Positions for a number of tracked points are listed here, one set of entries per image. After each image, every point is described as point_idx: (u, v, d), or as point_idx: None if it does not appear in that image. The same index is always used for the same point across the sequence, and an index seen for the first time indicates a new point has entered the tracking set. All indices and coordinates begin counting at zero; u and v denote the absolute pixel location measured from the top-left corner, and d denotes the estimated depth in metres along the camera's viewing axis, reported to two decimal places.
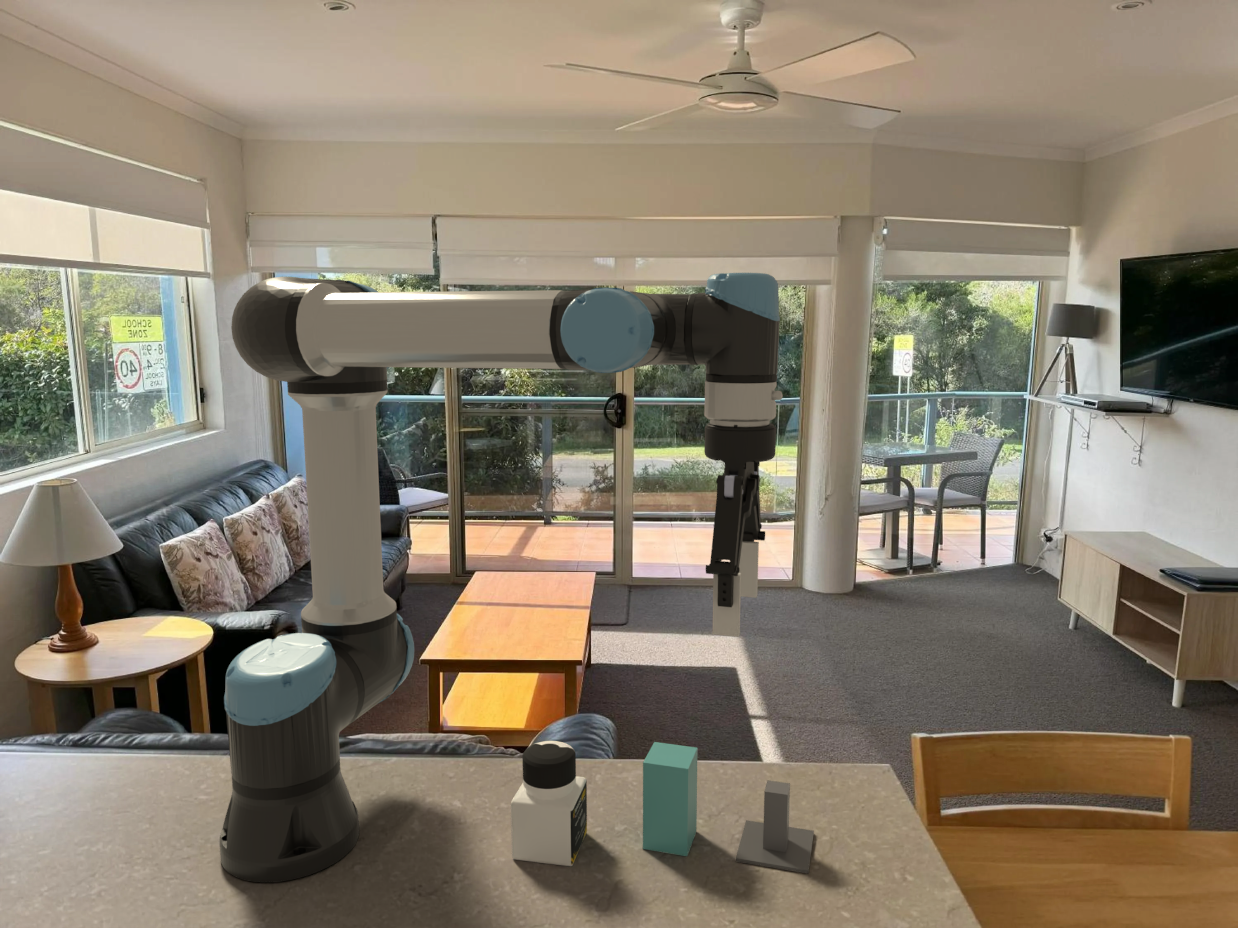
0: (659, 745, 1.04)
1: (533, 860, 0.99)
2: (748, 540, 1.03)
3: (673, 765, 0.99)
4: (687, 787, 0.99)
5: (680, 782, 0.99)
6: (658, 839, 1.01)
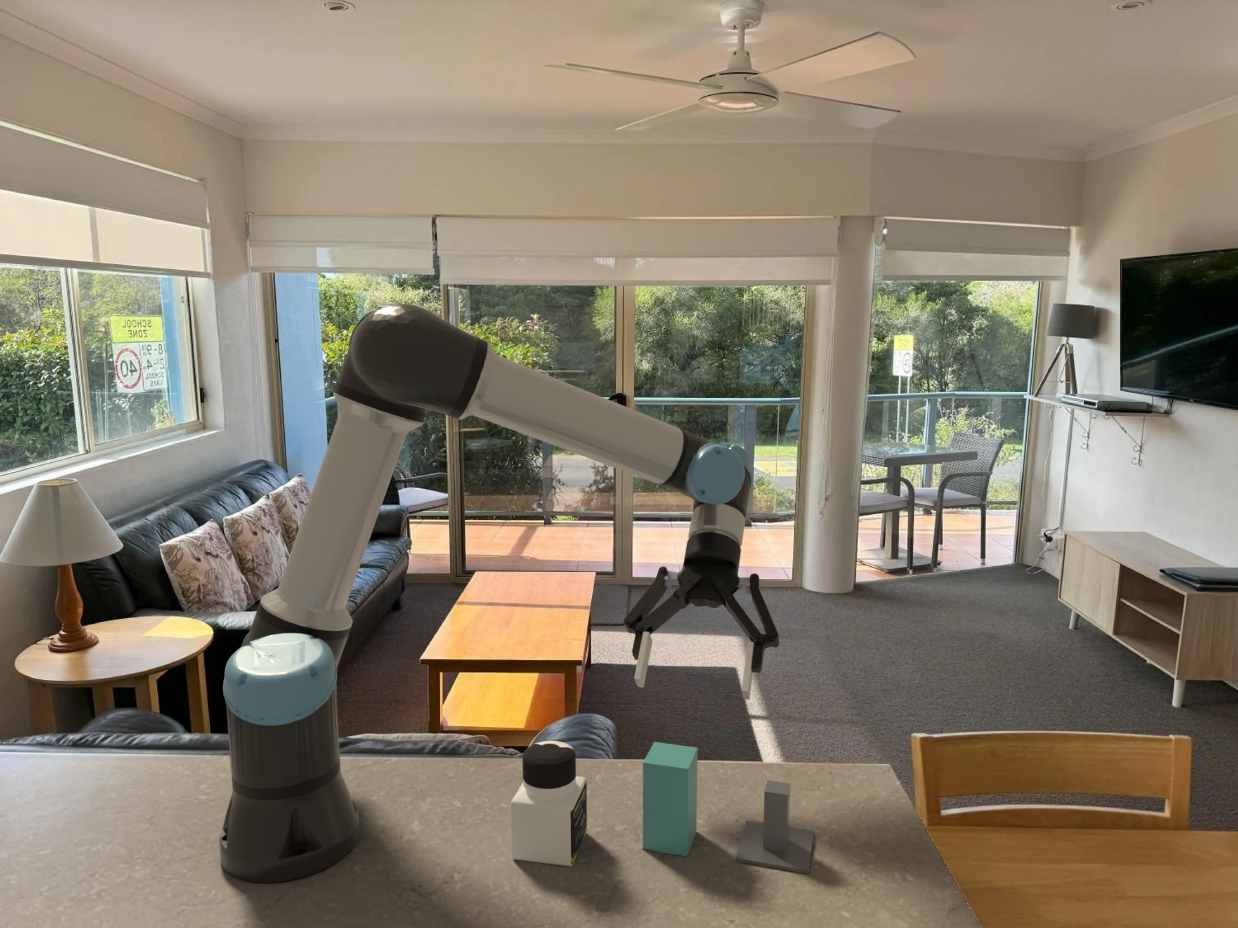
0: (659, 745, 1.04)
1: (533, 860, 0.99)
2: None
3: (673, 765, 0.99)
4: (687, 787, 0.99)
5: (680, 782, 0.99)
6: (658, 839, 1.01)
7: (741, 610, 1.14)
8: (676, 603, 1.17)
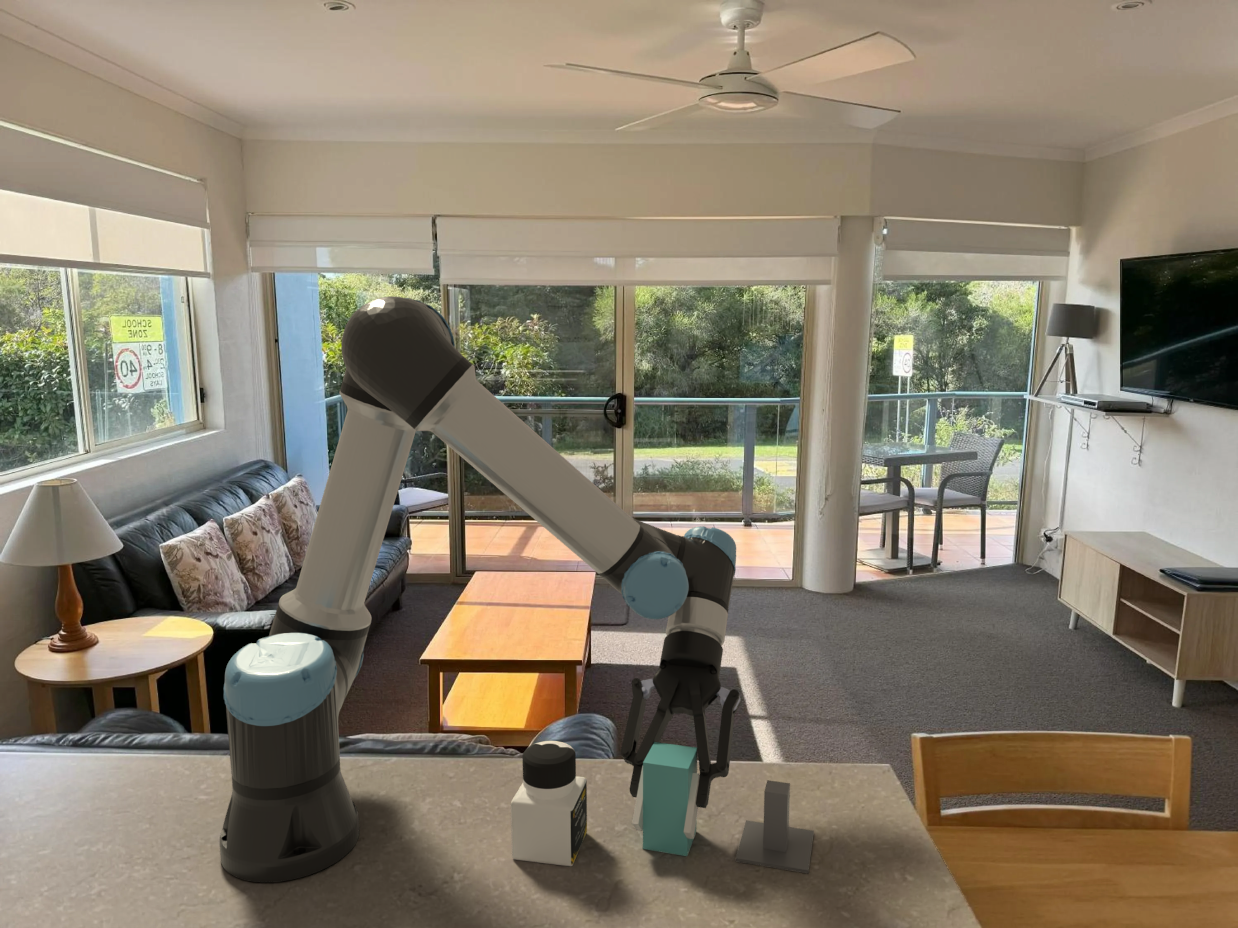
0: (659, 745, 1.04)
1: (533, 860, 0.99)
2: None
3: (673, 765, 0.99)
4: (687, 787, 0.99)
5: (680, 782, 0.99)
6: (658, 839, 1.01)
7: (703, 730, 1.04)
8: (664, 718, 1.06)
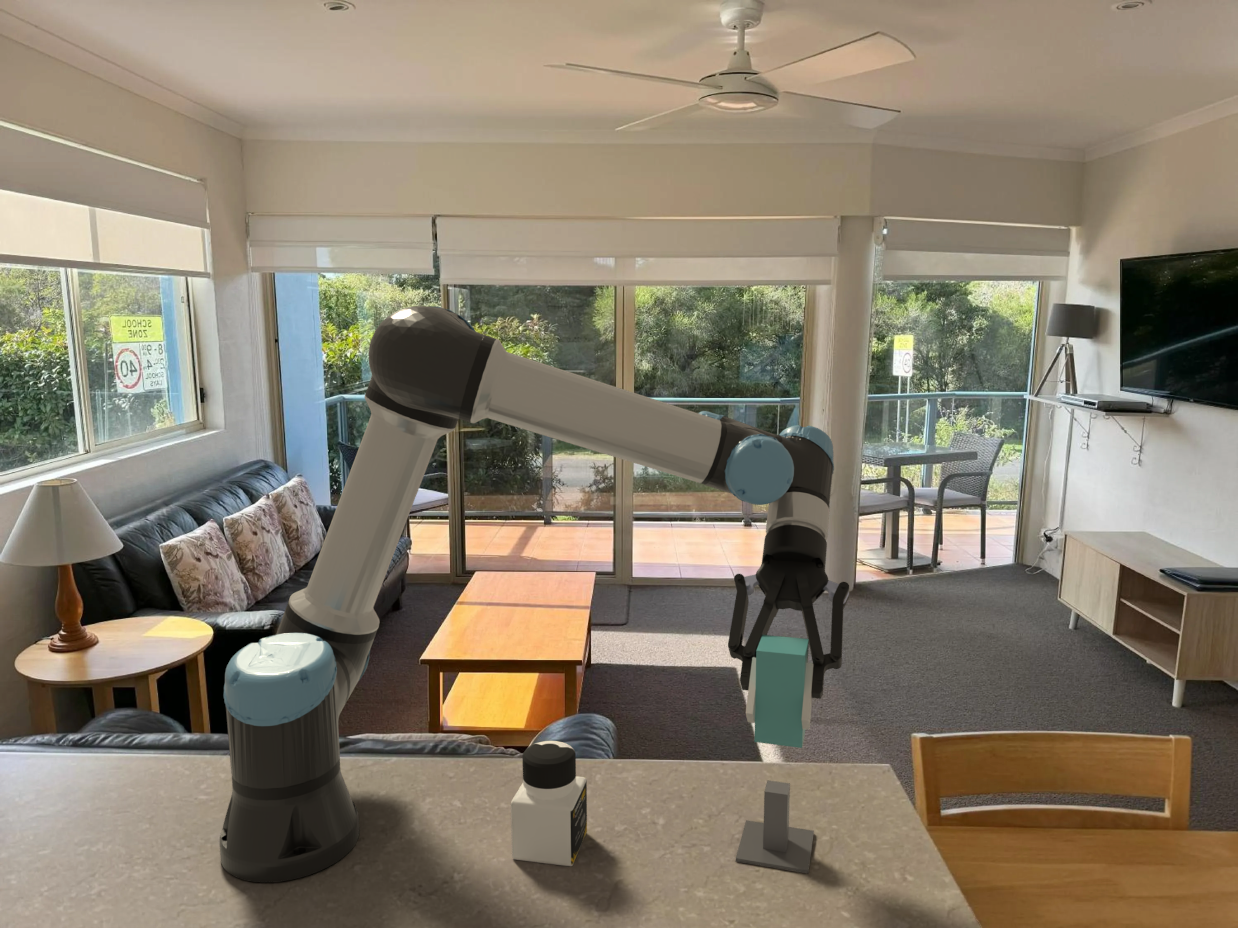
0: (768, 637, 1.00)
1: (533, 860, 0.99)
2: None
3: (788, 652, 0.96)
4: (803, 675, 0.95)
5: (796, 670, 0.95)
6: (771, 731, 0.97)
7: (814, 622, 1.00)
8: (771, 611, 1.02)
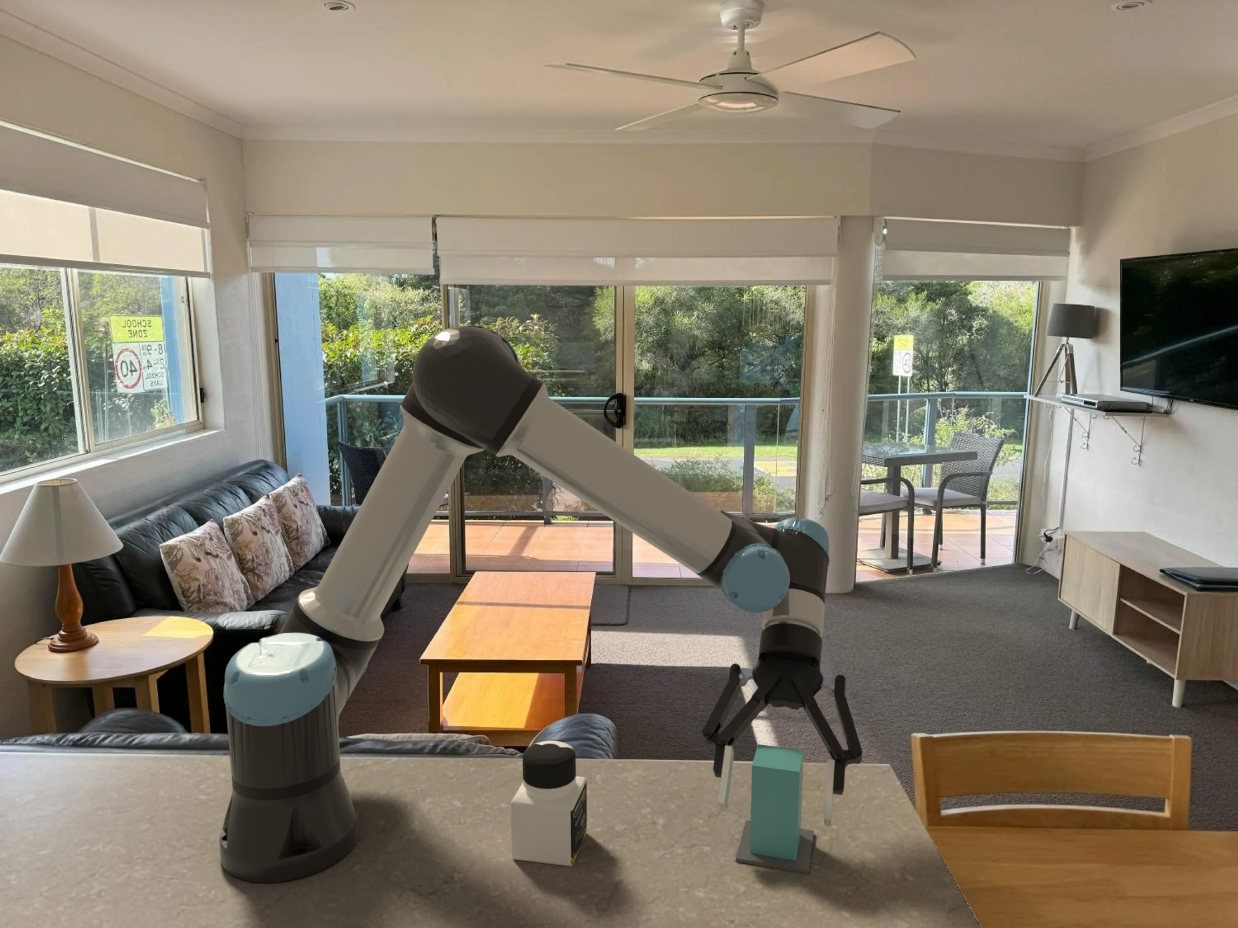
0: (763, 747, 1.02)
1: (533, 860, 0.99)
2: None
3: (783, 768, 0.98)
4: (798, 790, 0.97)
5: (790, 785, 0.97)
6: (766, 843, 0.99)
7: (823, 718, 1.02)
8: (756, 707, 1.05)
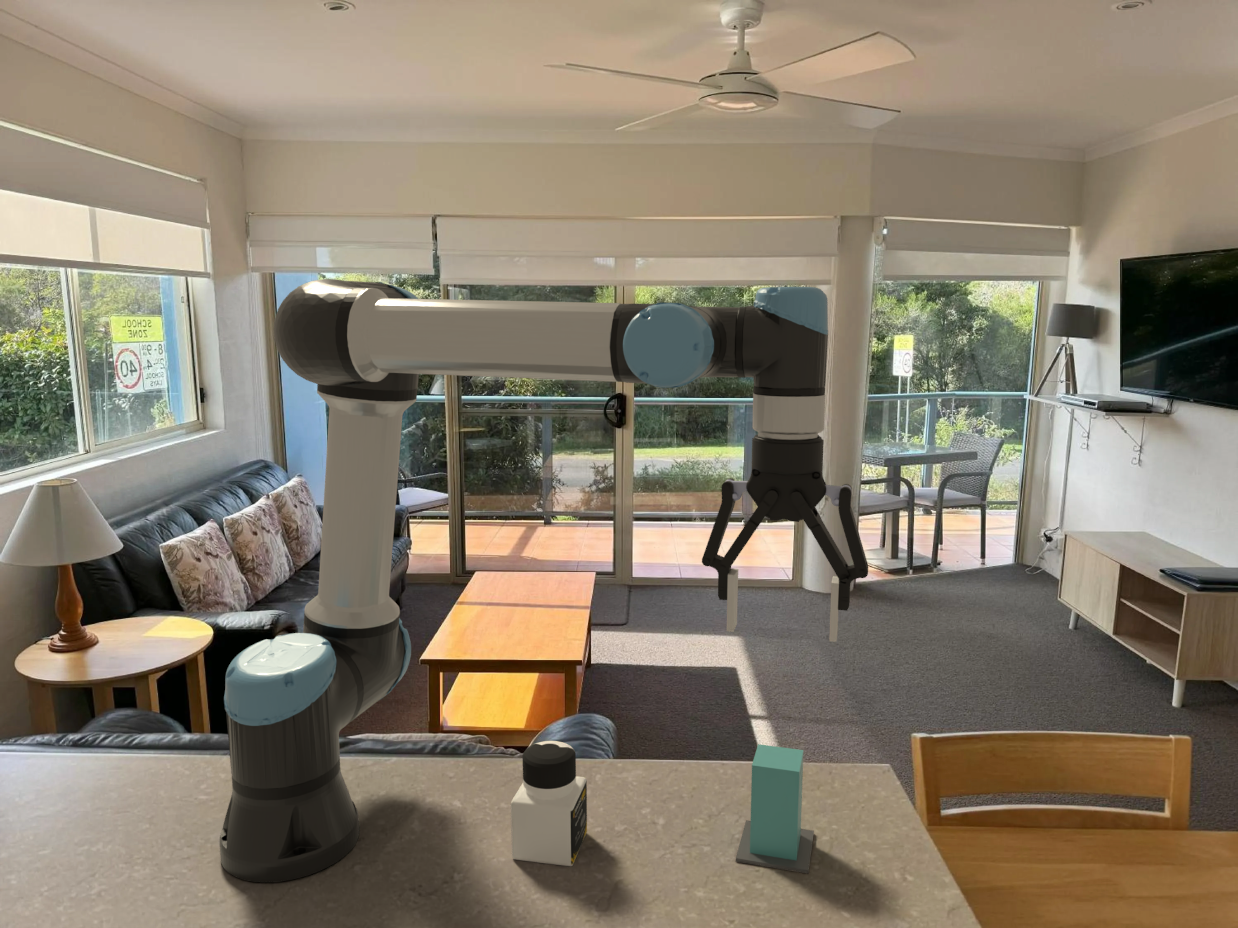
0: (763, 747, 1.02)
1: (533, 860, 0.99)
2: (730, 570, 0.99)
3: (783, 768, 0.98)
4: (798, 790, 0.97)
5: (790, 785, 0.97)
6: (766, 843, 0.99)
7: (826, 539, 0.94)
8: (755, 529, 0.96)
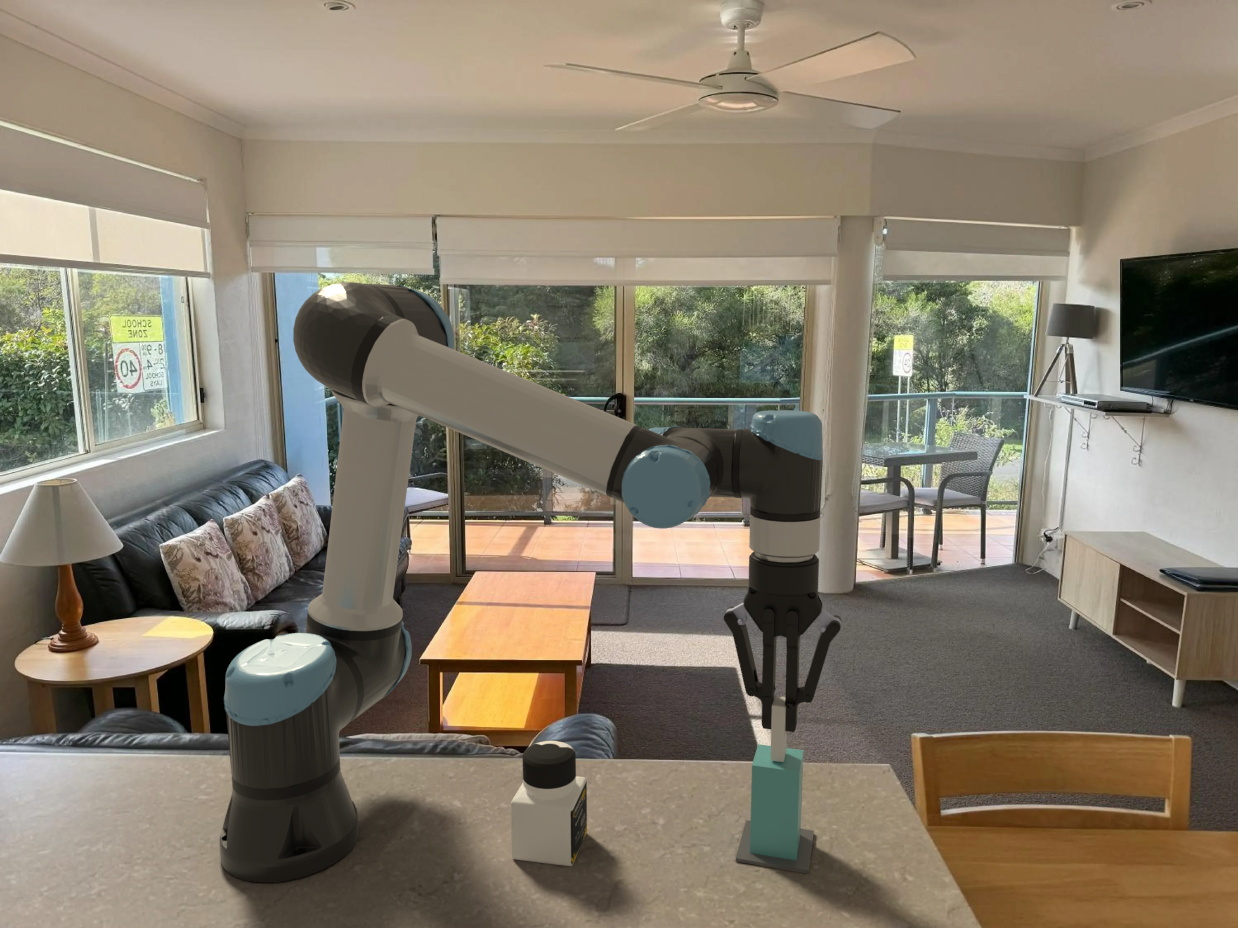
0: (763, 747, 1.02)
1: (533, 860, 0.99)
2: (774, 699, 0.99)
3: (783, 768, 0.98)
4: (798, 790, 0.97)
5: (790, 785, 0.97)
6: (766, 843, 0.99)
7: (795, 662, 0.97)
8: (774, 649, 0.97)
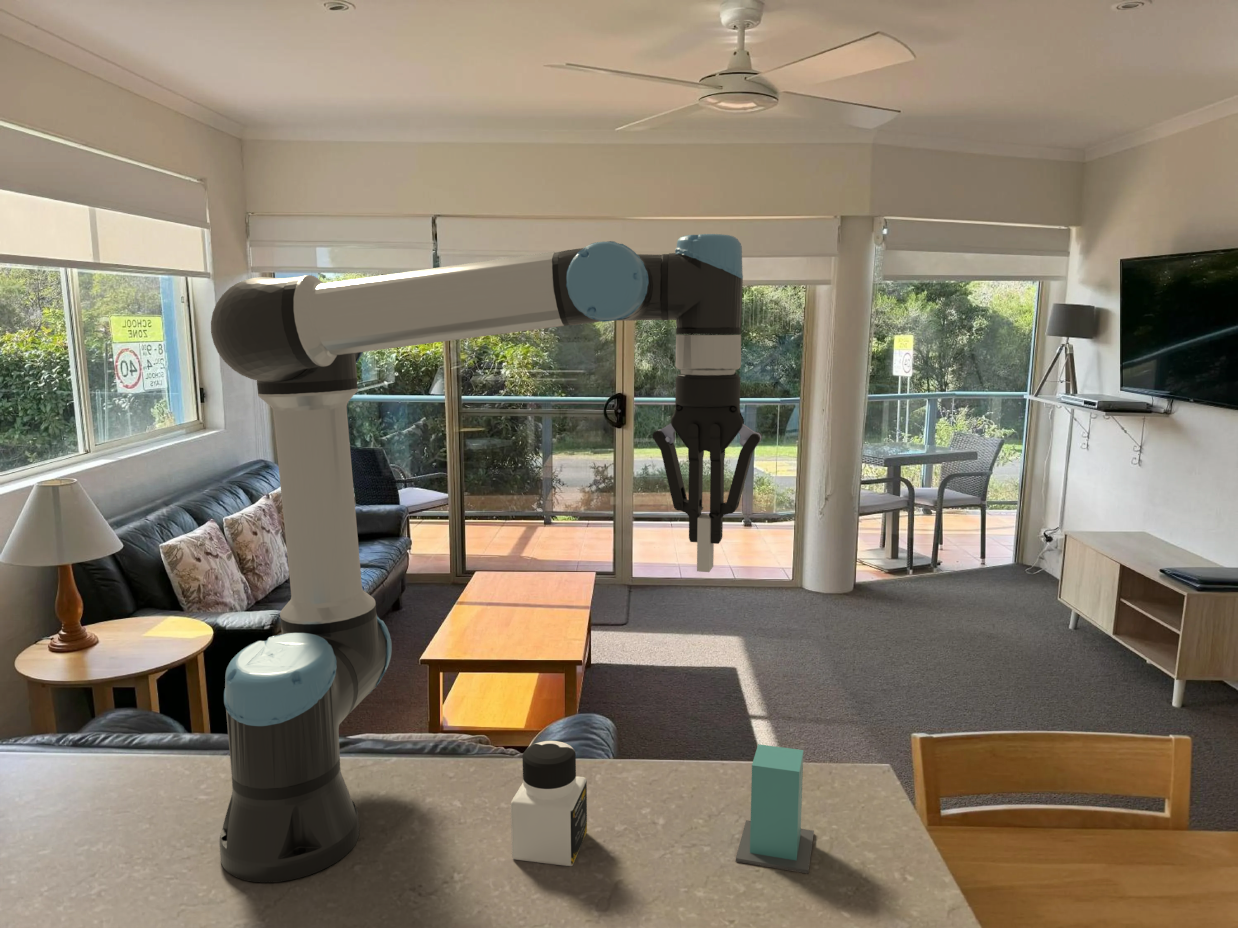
0: (763, 747, 1.02)
1: (533, 860, 0.99)
2: (700, 514, 1.06)
3: (783, 768, 0.98)
4: (798, 790, 0.97)
5: (790, 785, 0.97)
6: (766, 843, 0.99)
7: (718, 475, 1.03)
8: (699, 464, 1.04)
